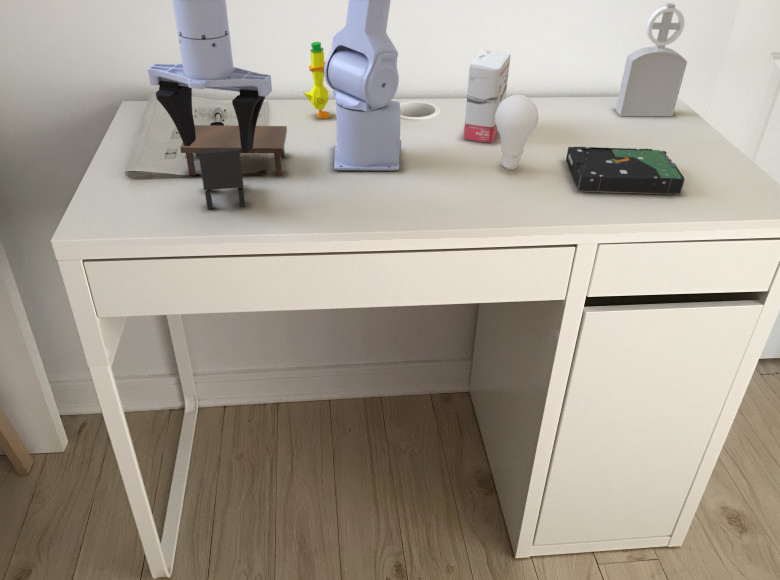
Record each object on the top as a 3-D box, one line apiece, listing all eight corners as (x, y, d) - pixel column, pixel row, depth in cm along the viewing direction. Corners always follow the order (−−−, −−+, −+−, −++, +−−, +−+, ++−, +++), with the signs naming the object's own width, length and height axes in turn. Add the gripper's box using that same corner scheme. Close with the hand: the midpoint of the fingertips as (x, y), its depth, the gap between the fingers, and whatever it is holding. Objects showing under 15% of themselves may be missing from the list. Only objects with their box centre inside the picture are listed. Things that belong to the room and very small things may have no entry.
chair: (243, 187, 100) (236, 131, 95) (245, 208, 95) (239, 151, 90) (206, 189, 99) (197, 134, 94) (207, 211, 94) (198, 153, 89)
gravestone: (615, 110, 128) (639, 1, 117) (666, 110, 128) (695, 2, 117) (620, 116, 126) (644, 5, 114) (672, 116, 126) (702, 6, 115)
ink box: (491, 144, 114) (500, 68, 107) (461, 139, 115) (468, 64, 108) (503, 125, 121) (512, 52, 113) (474, 120, 122) (481, 48, 114)
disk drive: (577, 194, 102) (681, 195, 102) (581, 176, 100) (687, 177, 100) (564, 163, 110) (660, 164, 110) (567, 145, 108) (665, 147, 108)
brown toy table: (288, 154, 109) (286, 125, 106) (284, 177, 103) (282, 148, 100) (194, 153, 108) (190, 125, 105) (185, 177, 102) (180, 147, 99)
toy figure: (342, 111, 123) (340, 38, 116) (346, 119, 120) (345, 44, 113) (302, 114, 122) (298, 40, 114) (306, 122, 119) (302, 47, 112)
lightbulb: (506, 157, 111) (515, 85, 104) (538, 170, 107) (550, 97, 100) (480, 168, 107) (488, 95, 100) (512, 182, 104) (523, 107, 97)
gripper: (126, 36, 79) (149, 152, 88) (252, 48, 78) (263, 166, 86) (156, 19, 85) (174, 130, 93) (273, 30, 83) (282, 142, 91)
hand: (218, 146), depth 90 cm, fingers open, 7 cm apart
